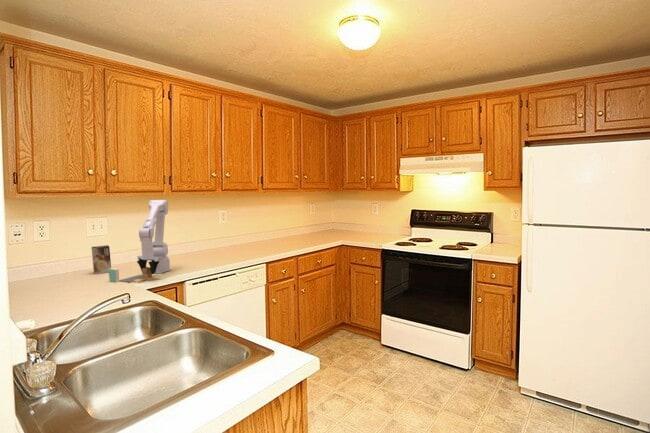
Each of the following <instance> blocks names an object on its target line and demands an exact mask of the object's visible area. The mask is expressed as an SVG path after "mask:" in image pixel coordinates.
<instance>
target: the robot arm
mask: <svg viewBox="0 0 650 433" xmlns="http://www.w3.org/2000/svg"><path fill="white" fill-rule="evenodd" d="M148 208H149V213H148V217H146V218H145V220H144V223H143V226H142V227H141V228H140V229H139V230H138V236H139V241H140V243H141V255H138V256H137V261H136V262H137V264H138V266H139V268H140V271H141V272H142V268H146V267H147V265H149V267H150V268H151V274H152V275H154V274H156V275H157V274H158V275H159V274H163V273H166V272H170V271H171V263H170V258H169V256H168V255H169V248H168V247H169V246H168V244H167V243H166V242H165V241H164V235H165V233H164V232H165V219H166V215H168V214H169V202H168V200H167V199H150V200H149V201H148ZM153 238H154V241H153ZM147 262H148V264H147Z"/></svg>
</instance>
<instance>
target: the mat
mask: <svg viewBox="0 0 650 433" xmlns="http://www.w3.org/2000/svg"><path fill="white" fill-rule="evenodd" d="M140 278H143V277H142V274H137V275H135V276H134V275H133V276H130V277H127V278H123V279H119V282H121V283H123V282H124V283H135V282H134V280H136V279H140Z"/></svg>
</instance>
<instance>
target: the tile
mask: <svg viewBox="0 0 650 433" xmlns="http://www.w3.org/2000/svg"><path fill="white" fill-rule="evenodd" d="M119 271H120V269H119V268H113V267H111V268H110V269H109V272H108V275H109V277H108V278H109V282H113V283H118V282H120V281H119V280H120V272H119Z"/></svg>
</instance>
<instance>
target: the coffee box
mask: <svg viewBox="0 0 650 433" xmlns="http://www.w3.org/2000/svg"><path fill="white" fill-rule="evenodd" d="M91 258H92V267H93V268H92V269H93V270H92V271H93V274H94V275H98V274H99V275H100V274H107V273H109V269H110V268H112V261H111V250H110V246H109V244H108V245H96V246H91Z"/></svg>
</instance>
